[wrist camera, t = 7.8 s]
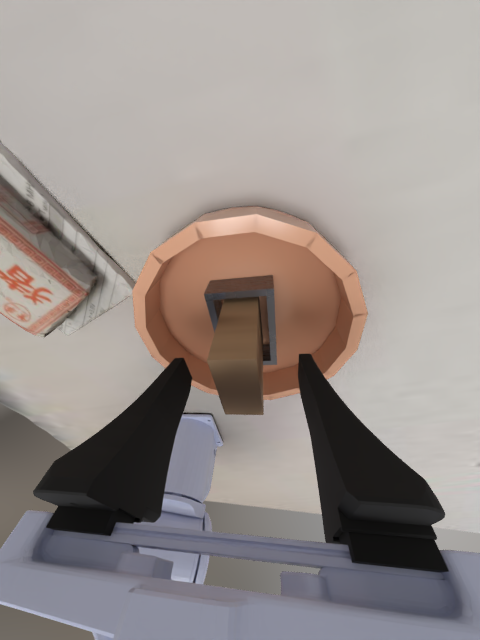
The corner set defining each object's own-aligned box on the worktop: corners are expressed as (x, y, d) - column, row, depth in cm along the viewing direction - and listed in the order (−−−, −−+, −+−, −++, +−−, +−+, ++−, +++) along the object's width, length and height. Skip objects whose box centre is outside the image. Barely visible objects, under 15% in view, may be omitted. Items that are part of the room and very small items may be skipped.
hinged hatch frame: (275, 347, 19) (277, 364, 17) (226, 349, 19) (223, 366, 18) (272, 274, 14) (274, 288, 13) (209, 280, 15) (203, 294, 13)
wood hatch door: (262, 338, 18) (263, 414, 12) (236, 339, 18) (225, 414, 13) (258, 287, 15) (256, 359, 9) (226, 290, 15) (206, 360, 10)
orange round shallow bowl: (331, 369, 21) (342, 399, 18) (186, 372, 23) (176, 399, 21) (368, 187, 12) (402, 194, 9) (119, 223, 14) (84, 237, 11)
